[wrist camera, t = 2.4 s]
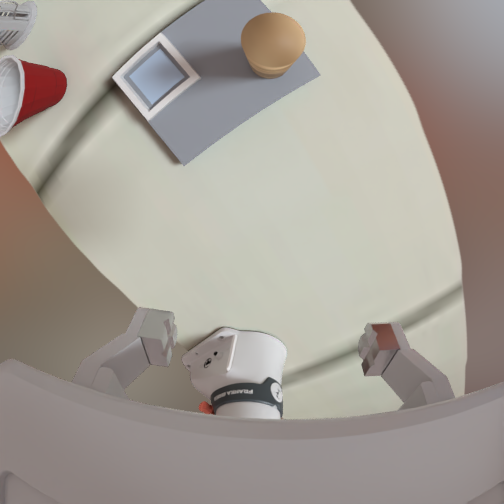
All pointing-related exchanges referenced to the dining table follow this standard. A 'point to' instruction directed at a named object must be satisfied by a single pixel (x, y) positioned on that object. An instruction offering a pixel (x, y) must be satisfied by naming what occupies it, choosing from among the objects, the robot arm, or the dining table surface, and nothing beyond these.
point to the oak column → (272, 43)
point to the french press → (16, 22)
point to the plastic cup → (27, 90)
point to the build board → (203, 77)
